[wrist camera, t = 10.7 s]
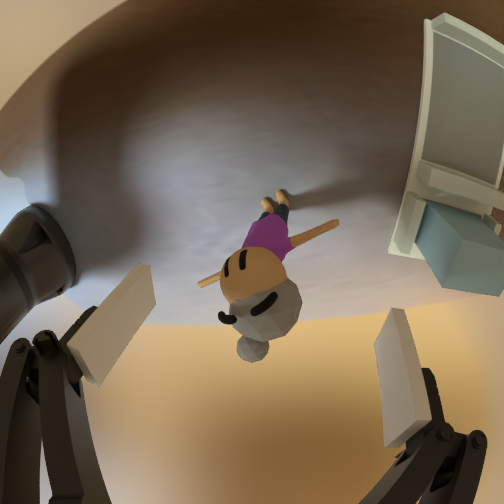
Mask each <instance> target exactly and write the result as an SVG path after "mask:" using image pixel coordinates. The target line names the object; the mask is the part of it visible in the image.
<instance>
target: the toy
mask: <svg viewBox="0 0 504 504" xmlns="http://www.w3.org/2000/svg"><path fill="white" fill-rule="evenodd" d="M276 197H277V200H278V203H279V205H278V206H277V208H276V209H275V211H274V209H273V207H272V205H271V203H270V202H269V201H268V200H267V199H265V198H263V199H262V200H261V203H262V205H263V207H264V211H263V213H262V215H261V217H260V218H259V220H258V221H256V222H254V223H253V224H252V226H251V228H250V230H249V232H248V235H247V237H246V239H245V241H244V244H243V246H242V248H241V249H240V250H238V251H236V252H235V253H234V254H232V255H231V256H230V257H229V258H228V259H227V260H226V262H225V264H224V265H223V268H222V271H220V272H218V273H216V274H214V275H212V276H210V277H208V278H205V279H203V280H201V281H199V282H198V283H197V285H198V286H199V287H200V288H201V287H204V286H207V285H209V284H211V283H214V282H216V281H218V280H220V286H221V290H222V292H223V295H224V296H225V298H226V299H227V301H228V302H229V303H230V309H229V315H226V314H225V313H224V312H223V311H220V312H219V313H218V318H219V320H220V321H221V322H222V323H224V324H232V325H233V328H235V329H236V330H237V331H238V332H239V333H241V334H242V335H243V336H242V337H241V338H240V339H239V340H238V342H237V353H238V355H239V357H240V358H242V359H243V360H245V361H248V362H251V363H253V362H256V361H260V360H262V359H263V358H264V357H265V356H266V354H267V353H268V349H269V343H268V341H269V340H272V339H276V338H279V337H282V336H285V335H286V334H287V333H288V332H289V331H290V329H291V328H292V327H293V326H294V325H295V323H296V322H297V320H298V316H299V313H300V309H301V306H302V299H301V296H300V294H299V291H298V288H297V285H296V284H295V283H293V282H292V281H291V280H290V279H288V278H287V275H286V271H285V268H284V266H283V264H282V261H283V260H284V258H285V255H286V254H287V253H288V252H289V251H291V250H292V249H294V248H295V247H297V246H299V245H301V244H303V243H305V242H307V241H308V240H310V239H312V238H314V237H316V236H318V235H320V234H322V233H325V232H327V231H329V230H331V229H333V228H335V227H337V226H338V225H339V220H338V219H334V220H331V221H328V222H326V223H324V224H322V225H320V226H317V227H315V228H313V229H311V230H308V231H306V232H303V233H301V234H298V235H295V236H293V237H289V238H288V228H287V220H288V213H289V201H288V199H287V198H286V197H285V196H284V194H283V193H282V192H281V191H279V190H278V191H277V192H276Z"/></svg>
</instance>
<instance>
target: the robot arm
mask: <svg viewBox="0 0 504 504" xmlns="http://www.w3.org/2000/svg"><path fill="white" fill-rule="evenodd" d="M75 277H76V266H75V260H74V256H73V253H72V250H71V247H70V245H69V242H68V240H67V238H66V236H65V234H64V232H63V231H62V229H61V228H60V226H59V225H58V223H57V222H56V221H55V220H54V218H53V217H52V216H51V215H50V214H49V213H48V212H46V211H45V210H44V209H42V208H40V207H38V206H28V207H26V208H25V209H23V210H21V211H20V212H18V213H17V214H16V215H15V216H14V217H13V219H12V220H11V221H10V222H9V224H8V225H7V226H6V228H5V229H4V230H3V232H2V233H1V234H0V344H1V343H2V342H3V341H4V339H5V338H6V337H7V336H8V335H9V334H10V332H11V331H12V330H13V329H14V328H15V327H16V326H17V324H18V323H19V322H20V321H21V320H22V319H23V318H24V317H25V316H26V315H27V313H28V312H29V311H30V310H31V309H32V308H33V307H34V306H36V305H38V304H40V303H42V302H45V301H47V300H49V299H52V298H54V297H57V296H59V295H61V294H63V293H64V292H65V291H66V290H67V289H68V288H69V287H70V286H71V285H72V284H73V283H74V281H75ZM155 305H156V301H155V295H154V289H153V283H152V277H151V270H150V266H147V265H143V264H138V265H137V266H136V267H135V268H134V269H133V270H132V271H131V272H130V273H129V274H128V275H127V276H126V277H125V278H124V279H123V280H122V282H121V283H120V284H119V285H118V286H117V287H116V288H115V289H114V290H113V291H112V292H111V293H110V295H109V296H108V297H107V298H106V299H105V300H104V301H103V302H102V303H101V304H100V306H99V307H96V306H92V307H91V308H89V309H87V310H86V311H85V312H84V313H83V314H82V315H81V316H80V318H79V319H77V321H76V322H75V324H73V325H72V326H71V327H70V329H69V330H68V331H67V332H66V333H65V334H64V336H63V337H62V338H61V339H60V340H59V341H58V339H57V337H56V335H55V334H54V333H53V331H50V330H43V331H41V332H39V333H38V334H36V335H35V337H34V338H33V341H32V343H33V345H34V346H32V345H31V344H30V342H29V340H27V339H26V338H19V339H17V340H16V341H14V342H13V344H12V345H11V347H10V350H9V353H8V355H7V358H6V361H5V364H4V367H3V370H2V373H1V376H0V504H40V486H39V484H40V481H39V480H40V454H41V441H43V448H44V455H45V461H46V466H47V471H48V476H49V481H50V485H51V489H52V497H51V499H50V500H49V503H48V504H112V503H111V500H110V498H109V495H108V492H107V489H106V486H105V483H104V480H103V477H102V474H101V471H100V468H99V464H98V460H97V457H96V453H95V449H94V445H93V441H92V436H91V432H90V427H89V422H88V417H87V412H86V406H85V400H84V393H83V387H82V381H81V377H82V376H83V375H84V376H85V378H86V380H87V381H88V382H90V383H92V384H94V385H96V386H98V387H100V385H101V384H102V382H103V381H104V379H105V378H106V376H107V375H108V373H109V372H110V370H111V369H112V367H113V365H114V364H115V363H116V361H117V360H118V358H119V357H120V355H121V354H122V352H123V351H124V349H125V348H126V346H127V345H128V343H129V342H130V340H131V339H132V337H133V336H134V334H135V333H136V332H137V330H138V329H139V327H140V326H141V325H142V323H143V322H144V320H145V319H146V317H147V316H148V315H149V313H150V312H151V310H152V309H153V308H154V306H155ZM374 347H375V353H376V360H377V367H378V376H379V384H380V392H381V403H382V415H383V431H384V448H396V447H400V446H401V445H402V444H404V443H405V442H406V449H405V450H403V451H402V452H400V453H399V454H398V455H397V456H396V458H398V459H397V460H396V461H395V463H394V464H393V465H392V466H391V468H390V469H389V470H388V471H387V472H386V474H385V475H384V476H383V477H382V479H381V480H380V481H379V482H378V483H377V484H376V485H375V487H374V488H373V489H372V490H371V491H370V492H369V493H368V494H367V495H366V496H365V497H364V498H363V500H361V502H360V503H359V504H416V502H417V501H418V500H419V498H420V497H421V495H422V494H423V495H422V497H421V499H420V501H419V504H473V501H474V498H475V495H476V491H477V488H478V485H479V481H480V477H481V472H482V469H483V464H484V460H485V455H486V449H487V438H486V435H485V434H484V433H483V432H482V431H480V430H474V431H472V432H471V433H470V434H468V435H465V434H461V433H457V432H454V429H453V427H452V426H451V425H450V424H448V423H446V422H445V419H444V415H443V410H442V405H441V401H440V396H439V395H438V393H439V392H438V388H437V387H436V386H437V384H436V380H435V377H434V375H433V373H432V372H431V370H430V369H429V368H421V366H420V362H419V358H418V354H417V351H416V347H415V344H414V340H413V337H412V333H411V330H410V327H409V324H408V321H407V318H406V314H405V311H404V309H397V308H391V310H390V312H389V314H388V316H387V318H386V321H385V323H384V325H383V327H382V329H381V331H380V333H379V335H378V337H377V339H376V341H375V343H374ZM27 377H28V379H27ZM26 380H27V381H26Z"/></svg>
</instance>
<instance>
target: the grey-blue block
mask: <svg viewBox="0 0 504 504" xmlns="http://www.w3.org/2000/svg"><path fill="white" fill-rule="evenodd" d="M414 243H415V244H416V246H417V247H418V249H419V250H420V252H421V253H422V255H423V256H424V258H425V259H426V261H427V263H428V264H429V266H430V268H431V269H432V271H433V272H434V274H435V276H436V278H437V279H438V281H439V283H440V284H441V286H442V288H448V289H454V290H460V291H467V292H473V293H479V294H485V295H492V296H500V294H501V292H502V290H503V288H504V241H503V240H502V239H501V238H500V237H499V236H498V235H497V234H496V233H495V232H494V231H493V230H492V229H491V228H489V227H488V226H487V225H486V224H485V223H484V222H483V221H481V220H480V219H479V218H478V217H476V216H473V215H471V214H467V213H464V212H461V211H458V210H455V209H452V208H449V207H445V206H442V205H438V204H435V203H432V202H428V201H426V205H425V208H424V212H423V215H422V219H421V222H420V225H419V228H418V232H417V235H416V238H415V241H414Z"/></svg>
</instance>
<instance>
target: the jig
mask: <svg viewBox="0 0 504 504" xmlns="http://www.w3.org/2000/svg"><path fill="white" fill-rule="evenodd" d="M503 166H504V46H503V45H502V44H501V43H499V42H497V41H496V40H494V39H493V38H491V37H490V36H488V35H486V34H485V33H483V32H481V31H480V30H478V29H476V28H474V27H472V26H471V25H469V24H467V23H465V22H463V21H461V20H459V19H457V18H455V17H453V16H451V15H449V14H447V13H445V12H444V13H443V14H441V15H439V16H438V17H436V18H434V19H433V20H428V19H425V20H424V59H423V77H422V89H421V99H420V108H419V116H418V123H417V130H416V136H415V142H414V148H413V153H412V158H411V163H410V168H409V173H408V178H407V182H406V186H405V191H404V195H403V199H402V203H401V206H400V210H399V214H398V218H397V221H396V225H395V228H394V232H393V235H392V238H391V241H390V245H389V248H388V253H389V254H394V255H400V256H405V257H411V258H417V259H422V260H426V259H425V258H424V256H423V255H422V253H421V252H420V250H419V249H418V247H417V246H416V244H415V243H414V241H415V238H416V235H417V232H418V228H419V225H420V222H421V219H422V215H423V212H424V208H425V205H426V201H428V202H432V203H435V204H438V205H442V206H445V207H449V208H452V209H455V210H458V211H461V212H464V213H467V214H471V215H473V216H476V217H478V218H479V219H480V220H481V221H483V222H484V223H485V224H486V225H487V226H488V227H489V228H491V229H492V230H493V231H494V232H495V233H496V234H497V235H498V236H499V234H500V231H501V228H502V224H500V223H499V222H498V221H497V220H496V219H494V218H493V217H492V216H491V212H492V209H493V207H495V208H498V209H500V210H503V211H504V193H503V192H502V191H500V190H498V188H499V184H500V180H501V175H502V171H503Z"/></svg>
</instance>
